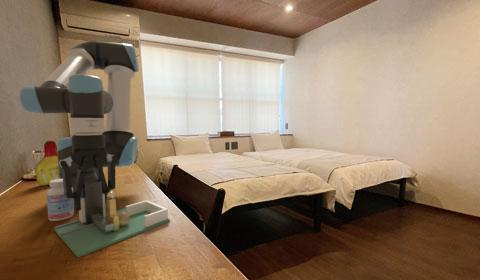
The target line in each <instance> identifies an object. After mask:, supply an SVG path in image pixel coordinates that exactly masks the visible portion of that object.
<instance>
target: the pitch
mask: <svg viewBox="0 0 480 280" xmlns="http://www.w3.org/2000/svg"><path fill="white" fill-rule="evenodd" d="M105 212H106V213H107V211H105ZM121 212H126V209H125V208H122V209H118V210H117V209H116V216H117V214H119V213H121ZM148 214H151V213H150V212H148V211H143V212H140V213H136V214H133V215H130V221H129V223H128V224H126V225H125V226H119V230H118V231H115V232H114V231H113V230H111V231H108V232H105V231H103V230H102V229H101V228H100V227H98V226H97V225H96V224H94V223H92V224H89V225H86V224H85V223H82V222H81V221H80V220H79V219H77V220H73V221H70V222H66V223H64V224H63V223H62V224H60V225H56V226H54V232H55V233H56V234H57V236H59V238H60V239H61V240H62V241H63V243H65V245H67V248H69V249H70V250H71V251H72V252H73V254H74V255H75V256H76V257H77V258H80V257H84V256H86V255H88V254H91V253H93V252H96V251H98V250H101V249H104V248H106V247H109V246H111V245H113V244H116V243H119V242H121V241H124V240H127V239H130V238H132V237H133V236H137V235H139V234H141V233H144V232H146V231H149V230H152V229H154V228H157V227H159V226H161V225H164V224H167V223H169V222H171V219H170V218H168V219H166V220H164V221H161V222H158V223H156V224H153V225H151V226H148V227H145V226H144V216H145V215H148ZM105 218H106V216H105Z"/></svg>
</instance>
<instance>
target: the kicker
mask: <svg viewBox="0 0 480 280" xmlns="http://www.w3.org/2000/svg"><path fill="white" fill-rule="evenodd" d="M115 195H116V194H115V192H114V191H112V190H110V192H108V193H107V198H106V202H107V204H106V212H107V213H106V218H105V217H103V198H102V181H100V180H97V179H94V180H88V181H84V184H83V189H82V194H81V196H82V197H84V198H85V217H86V222H84V223H85V224H86V225H89V224H92V223H94V224H96V225H97V226H98V227H100V228H101V229H102V230H103V231H105V232H108V231H111V230H113V231H114V232H115V231H118V230H119V217H118V216H116V210H117V204H116V202H117V201H116V197H115Z"/></svg>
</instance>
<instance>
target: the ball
mask: <svg viewBox="0 0 480 280" xmlns="http://www.w3.org/2000/svg"><path fill="white" fill-rule="evenodd" d="M117 216H118V217H119V226H125V225H126V224H128V223H129V221H130V215H129V214H128V213H127V212H121V213H119V214H117Z"/></svg>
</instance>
